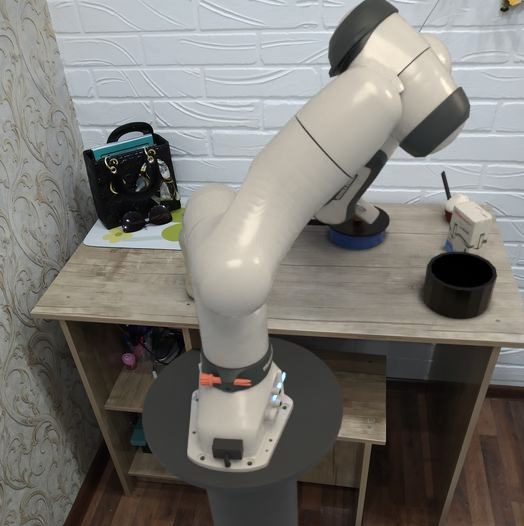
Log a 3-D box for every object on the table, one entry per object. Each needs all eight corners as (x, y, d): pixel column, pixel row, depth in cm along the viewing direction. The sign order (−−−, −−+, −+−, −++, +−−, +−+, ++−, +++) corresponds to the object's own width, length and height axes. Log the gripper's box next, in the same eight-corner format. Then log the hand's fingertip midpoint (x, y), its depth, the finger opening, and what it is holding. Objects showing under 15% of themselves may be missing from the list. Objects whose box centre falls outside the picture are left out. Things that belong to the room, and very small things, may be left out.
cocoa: (476, 223, 144) (486, 179, 135) (458, 231, 141) (467, 186, 133) (448, 208, 150) (457, 165, 141) (431, 216, 147) (438, 172, 139)
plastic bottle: (193, 284, 131) (180, 205, 117) (221, 288, 129) (211, 208, 116) (183, 301, 126) (168, 221, 113) (211, 305, 125) (200, 225, 111)
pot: (492, 321, 116) (500, 291, 111) (423, 316, 118) (428, 287, 113) (484, 281, 126) (492, 253, 121) (421, 278, 128) (426, 249, 123)
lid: (389, 240, 134) (391, 219, 130) (324, 237, 136) (324, 217, 132) (389, 208, 145) (391, 187, 141) (329, 206, 147) (330, 186, 143)
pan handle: (332, 227, 142) (333, 221, 141) (290, 225, 143) (290, 220, 142) (333, 224, 143) (333, 218, 142) (291, 222, 144) (291, 216, 143)
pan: (384, 250, 137) (385, 236, 134) (327, 248, 139) (327, 234, 136) (384, 221, 147) (386, 207, 144) (331, 219, 149) (332, 205, 146)
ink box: (443, 248, 136) (452, 203, 128) (462, 243, 137) (471, 199, 129) (464, 267, 130) (474, 221, 122) (483, 262, 131) (494, 216, 123)
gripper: (366, 190, 121) (397, 217, 131) (311, 157, 134) (343, 184, 144) (348, 215, 123) (380, 240, 133) (296, 180, 136) (328, 205, 146)
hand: (360, 210), depth 139 cm, fingers open, 4 cm apart
